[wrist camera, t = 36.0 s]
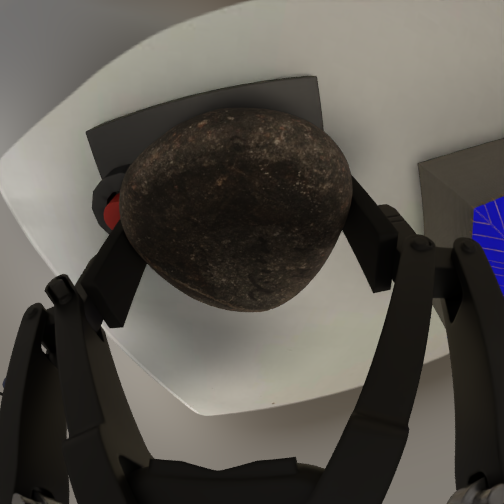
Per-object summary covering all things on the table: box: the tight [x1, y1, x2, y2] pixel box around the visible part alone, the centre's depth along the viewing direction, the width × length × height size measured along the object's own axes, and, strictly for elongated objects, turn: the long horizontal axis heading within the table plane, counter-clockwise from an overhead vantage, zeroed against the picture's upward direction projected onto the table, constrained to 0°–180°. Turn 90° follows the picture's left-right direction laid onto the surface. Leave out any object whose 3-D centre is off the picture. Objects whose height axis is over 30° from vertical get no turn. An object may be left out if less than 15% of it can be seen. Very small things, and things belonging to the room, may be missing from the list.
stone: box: [119, 108, 353, 312], centre depth 14 cm, size 11×11×5 cm
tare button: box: [104, 193, 120, 230], centre depth 18 cm, size 2×2×2 cm
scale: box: [86, 76, 324, 234], centre depth 20 cm, size 17×12×4 cm
